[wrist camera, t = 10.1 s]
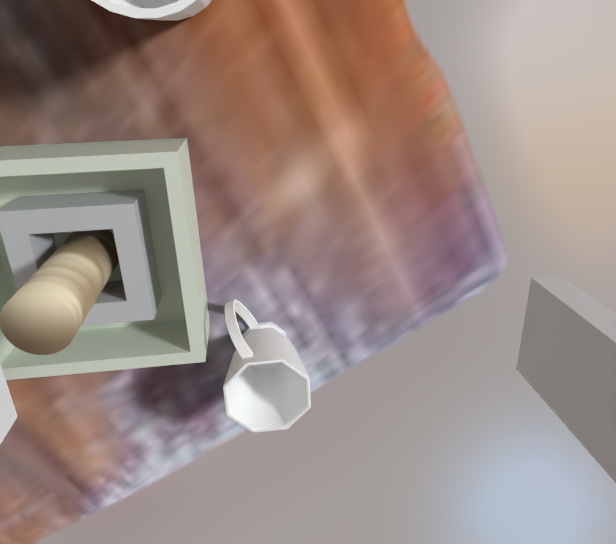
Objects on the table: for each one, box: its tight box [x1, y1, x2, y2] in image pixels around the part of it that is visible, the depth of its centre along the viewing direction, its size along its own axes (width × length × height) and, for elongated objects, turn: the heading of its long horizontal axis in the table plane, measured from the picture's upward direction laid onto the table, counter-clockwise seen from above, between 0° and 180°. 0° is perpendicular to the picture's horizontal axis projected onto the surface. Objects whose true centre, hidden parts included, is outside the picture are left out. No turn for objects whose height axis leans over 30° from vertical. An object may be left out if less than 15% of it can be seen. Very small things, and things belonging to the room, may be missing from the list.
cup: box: [223, 299, 311, 433], centre depth 41 cm, size 7×10×8 cm
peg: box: [0, 229, 119, 355], centre depth 34 cm, size 4×4×12 cm
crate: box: [0, 137, 210, 380], centre depth 37 cm, size 16×16×6 cm
